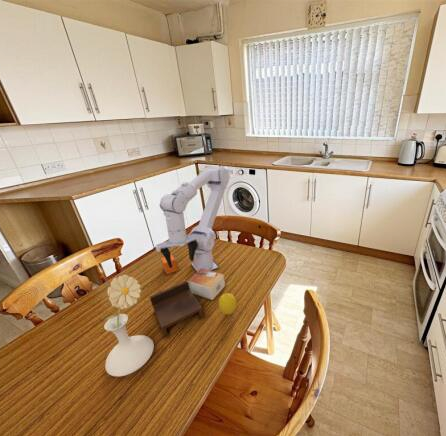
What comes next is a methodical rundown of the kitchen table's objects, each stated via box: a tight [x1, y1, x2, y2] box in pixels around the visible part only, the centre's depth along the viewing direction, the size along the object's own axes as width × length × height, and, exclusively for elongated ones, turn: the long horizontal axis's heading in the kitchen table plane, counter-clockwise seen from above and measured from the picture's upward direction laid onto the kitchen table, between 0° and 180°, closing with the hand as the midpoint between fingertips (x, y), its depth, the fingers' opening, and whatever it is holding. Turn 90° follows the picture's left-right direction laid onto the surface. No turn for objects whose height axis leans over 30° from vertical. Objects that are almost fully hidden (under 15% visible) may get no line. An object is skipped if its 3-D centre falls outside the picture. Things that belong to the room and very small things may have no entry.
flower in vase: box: [102, 274, 155, 377], centre depth 60 cm, size 13×11×25 cm
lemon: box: [218, 292, 238, 316], centre depth 76 cm, size 6×6×8 cm
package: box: [160, 253, 179, 275], centre depth 99 cm, size 5×4×6 cm
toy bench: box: [149, 280, 205, 338], centre depth 76 cm, size 12×12×7 cm
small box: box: [186, 269, 226, 301], centre depth 87 cm, size 8×6×10 cm
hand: (181, 263), depth 87 cm, fingers open, 7 cm apart
